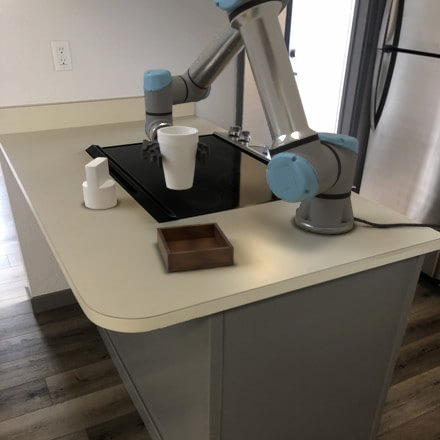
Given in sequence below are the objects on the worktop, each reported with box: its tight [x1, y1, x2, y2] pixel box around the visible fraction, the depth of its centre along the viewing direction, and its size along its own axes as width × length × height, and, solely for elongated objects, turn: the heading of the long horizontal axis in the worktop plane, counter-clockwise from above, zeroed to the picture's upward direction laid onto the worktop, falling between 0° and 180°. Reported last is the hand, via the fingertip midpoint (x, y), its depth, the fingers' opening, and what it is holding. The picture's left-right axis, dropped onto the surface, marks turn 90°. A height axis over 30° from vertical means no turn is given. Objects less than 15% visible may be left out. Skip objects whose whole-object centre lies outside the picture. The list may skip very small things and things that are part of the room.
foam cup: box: [157, 125, 199, 191], centre depth 115 cm, size 10×9×13 cm
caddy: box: [156, 222, 235, 273], centre depth 111 cm, size 15×15×4 cm
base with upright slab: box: [82, 156, 118, 210], centre depth 137 cm, size 9×9×12 cm
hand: (182, 161), depth 111 cm, fingers closed on foam cup, 9 cm apart
